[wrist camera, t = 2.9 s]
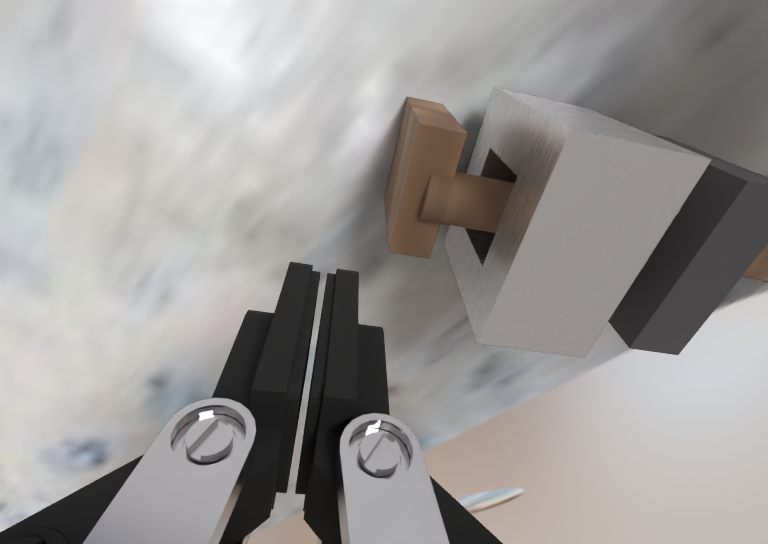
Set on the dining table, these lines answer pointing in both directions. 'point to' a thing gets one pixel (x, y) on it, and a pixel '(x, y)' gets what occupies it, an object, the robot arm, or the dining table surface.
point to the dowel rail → (449, 186)
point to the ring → (696, 258)
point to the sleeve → (564, 221)
